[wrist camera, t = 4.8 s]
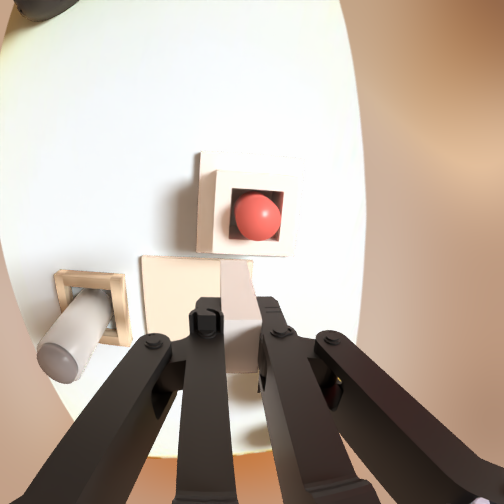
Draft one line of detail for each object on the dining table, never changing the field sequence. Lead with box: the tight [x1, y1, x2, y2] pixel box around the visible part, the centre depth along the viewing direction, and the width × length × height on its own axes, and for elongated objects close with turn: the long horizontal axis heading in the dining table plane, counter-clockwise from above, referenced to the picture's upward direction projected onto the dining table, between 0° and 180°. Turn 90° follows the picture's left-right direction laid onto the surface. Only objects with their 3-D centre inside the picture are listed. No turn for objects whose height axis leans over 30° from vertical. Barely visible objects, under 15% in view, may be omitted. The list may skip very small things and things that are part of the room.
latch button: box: [234, 191, 281, 241], centre depth 28 cm, size 4×4×5 cm
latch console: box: [196, 151, 304, 256], centre depth 31 cm, size 12×12×7 cm
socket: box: [54, 269, 133, 347], centre depth 35 cm, size 10×10×2 cm
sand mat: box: [141, 255, 253, 341], centre depth 37 cm, size 16×14×1 cm
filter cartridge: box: [37, 288, 114, 384], centre depth 29 cm, size 6×6×14 cm
